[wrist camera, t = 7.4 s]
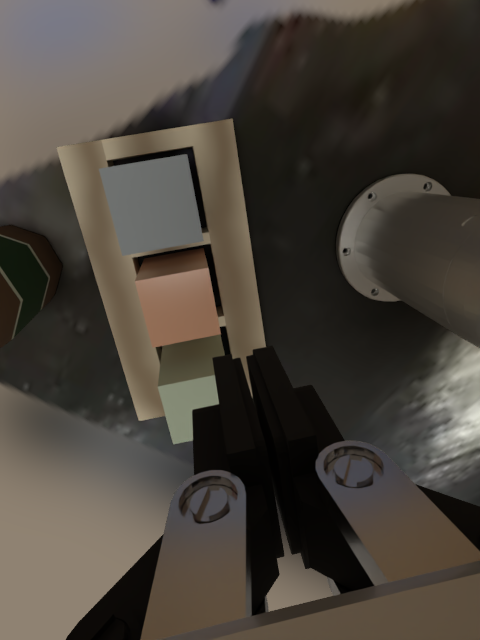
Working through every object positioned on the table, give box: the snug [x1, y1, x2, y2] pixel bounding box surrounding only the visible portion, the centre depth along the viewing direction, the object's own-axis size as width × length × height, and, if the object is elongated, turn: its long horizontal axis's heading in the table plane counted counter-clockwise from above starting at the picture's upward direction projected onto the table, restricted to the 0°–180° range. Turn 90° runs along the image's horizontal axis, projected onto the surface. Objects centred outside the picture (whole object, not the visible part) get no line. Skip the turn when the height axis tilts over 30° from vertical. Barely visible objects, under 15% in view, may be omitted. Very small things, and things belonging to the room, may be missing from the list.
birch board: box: [56, 119, 266, 421], centre depth 38 cm, size 14×26×3 cm, turn 9°
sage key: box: [158, 335, 225, 444], centre depth 36 cm, size 6×6×8 cm
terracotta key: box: [135, 248, 221, 348], centre depth 35 cm, size 6×6×8 cm
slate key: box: [99, 154, 204, 256], centre depth 30 cm, size 6×6×8 cm
